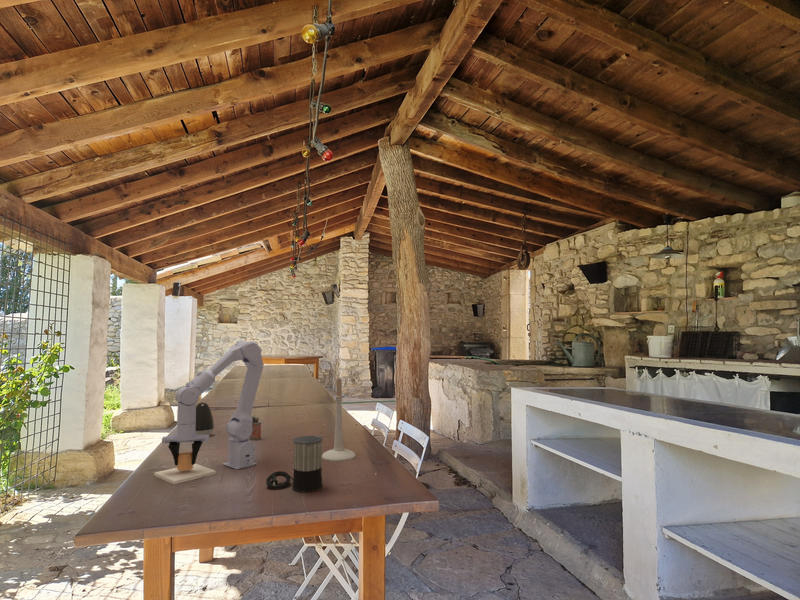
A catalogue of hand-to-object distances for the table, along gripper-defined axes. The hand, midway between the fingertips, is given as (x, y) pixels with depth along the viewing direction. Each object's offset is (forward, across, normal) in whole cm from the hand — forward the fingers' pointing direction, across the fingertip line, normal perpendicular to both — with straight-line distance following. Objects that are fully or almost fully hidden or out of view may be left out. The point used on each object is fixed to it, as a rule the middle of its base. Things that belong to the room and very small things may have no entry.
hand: (185, 464), depth 159 cm
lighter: (+4, -16, -48) cm, 51 cm away
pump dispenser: (+4, +7, -59) cm, 59 cm away
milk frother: (+4, -36, +19) cm, 41 cm away
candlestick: (+4, -52, -13) cm, 53 cm away
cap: (+2, 0, 0) cm, 2 cm away
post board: (+3, 0, 0) cm, 3 cm away
